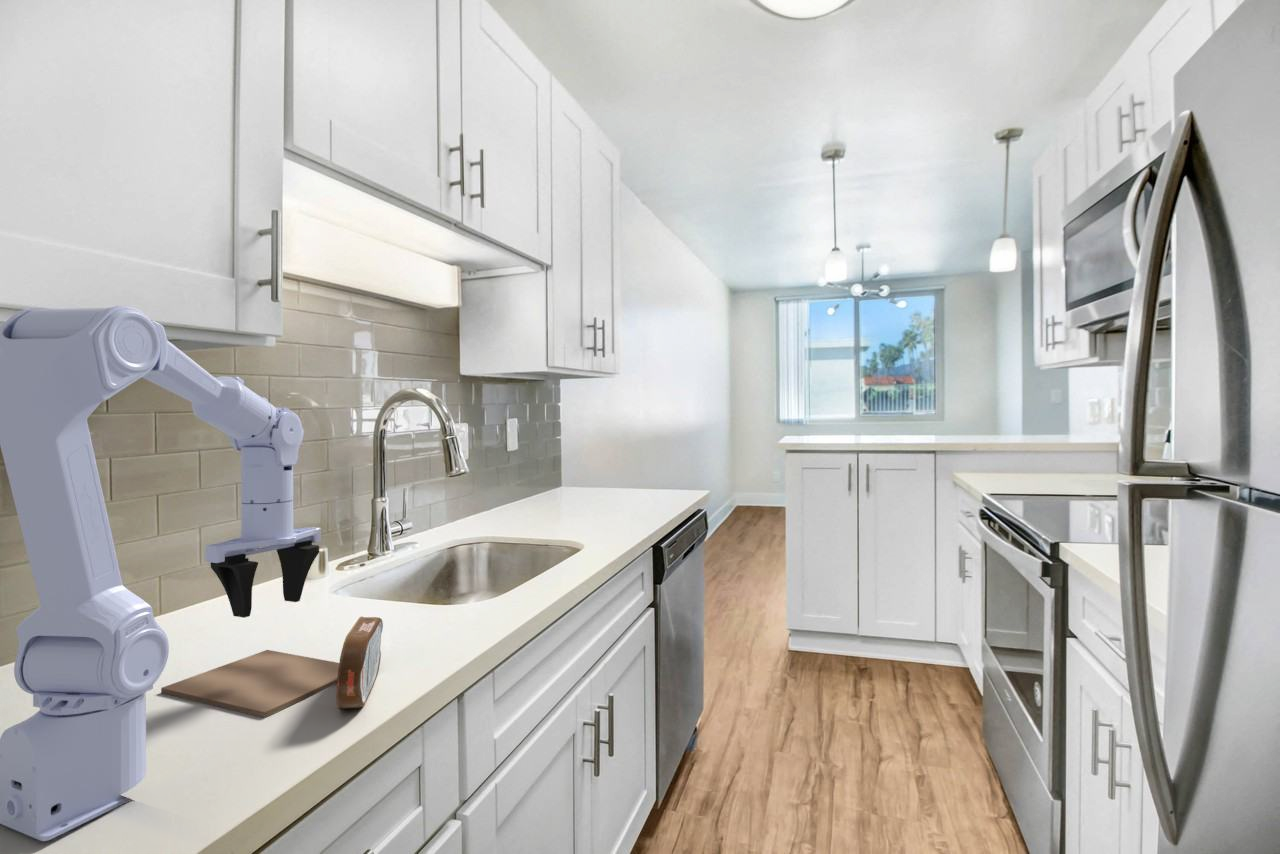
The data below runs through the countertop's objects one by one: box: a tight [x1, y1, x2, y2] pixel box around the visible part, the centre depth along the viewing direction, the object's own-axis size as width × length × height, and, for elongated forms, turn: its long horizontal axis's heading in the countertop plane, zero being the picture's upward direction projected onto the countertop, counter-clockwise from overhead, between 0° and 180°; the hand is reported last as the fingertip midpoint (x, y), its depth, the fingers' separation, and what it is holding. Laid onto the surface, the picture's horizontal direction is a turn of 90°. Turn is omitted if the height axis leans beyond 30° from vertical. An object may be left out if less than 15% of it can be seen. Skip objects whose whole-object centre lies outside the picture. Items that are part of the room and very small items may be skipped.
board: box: [160, 649, 339, 718], centre depth 79 cm, size 14×18×1 cm
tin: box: [335, 616, 384, 711], centre depth 76 cm, size 15×3×8 cm, turn 14°
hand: (268, 608), depth 79 cm, fingers open, 6 cm apart
